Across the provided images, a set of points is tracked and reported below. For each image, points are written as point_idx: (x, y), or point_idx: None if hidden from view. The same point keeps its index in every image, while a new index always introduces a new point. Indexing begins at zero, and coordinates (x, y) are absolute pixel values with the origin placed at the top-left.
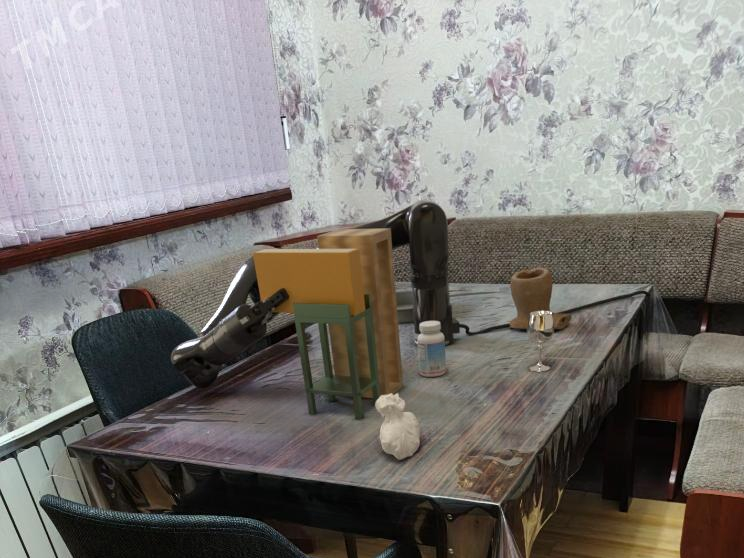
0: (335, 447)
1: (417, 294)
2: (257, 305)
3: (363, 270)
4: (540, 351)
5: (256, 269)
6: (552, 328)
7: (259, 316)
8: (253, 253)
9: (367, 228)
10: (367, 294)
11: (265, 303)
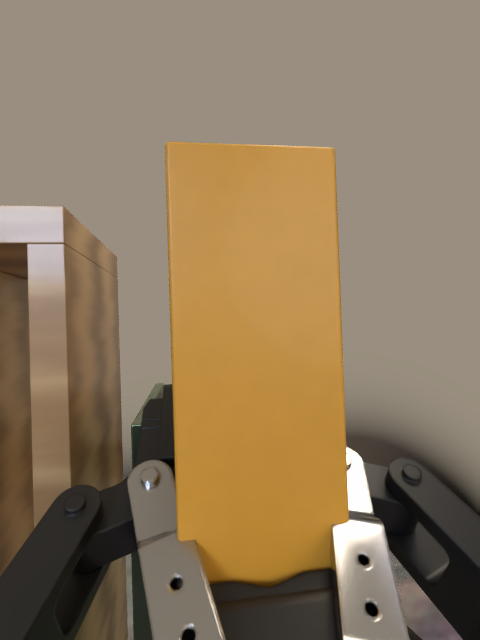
0: (410, 608)
1: None
2: (433, 486)
3: (113, 338)
4: None
5: (337, 273)
6: None
7: (440, 550)
8: (332, 154)
9: None
10: (161, 384)
11: (377, 469)
